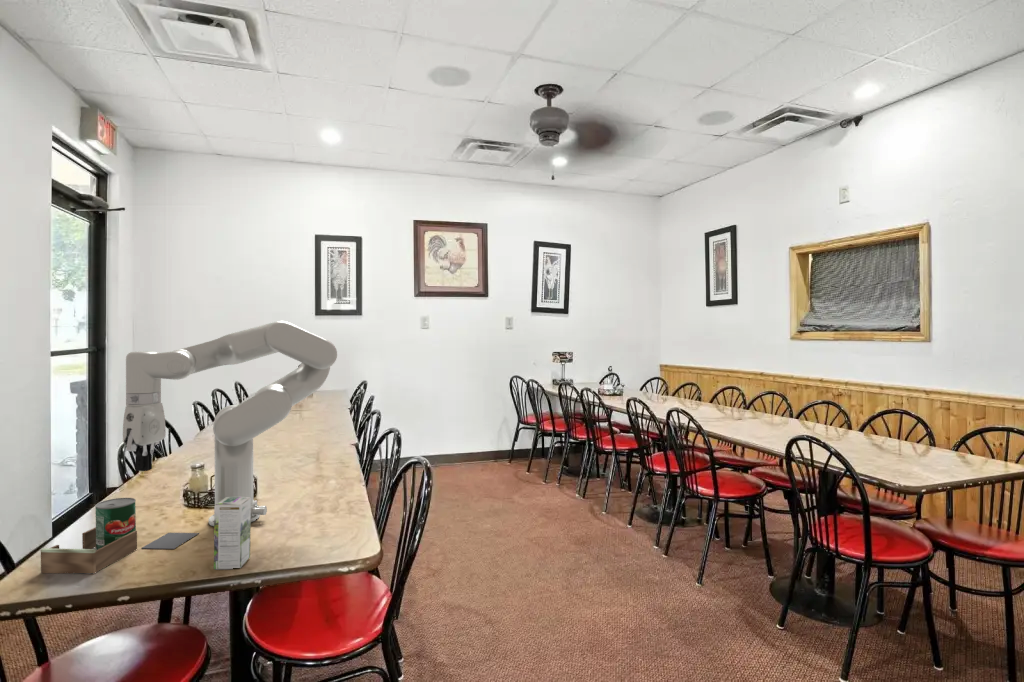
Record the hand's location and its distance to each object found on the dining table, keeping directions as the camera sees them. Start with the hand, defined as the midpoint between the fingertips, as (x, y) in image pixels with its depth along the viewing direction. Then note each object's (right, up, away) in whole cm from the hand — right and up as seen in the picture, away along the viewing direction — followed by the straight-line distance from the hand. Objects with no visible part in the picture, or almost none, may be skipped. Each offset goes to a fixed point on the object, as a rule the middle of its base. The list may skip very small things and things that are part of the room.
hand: (143, 470), depth 142 cm
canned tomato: (0, -17, -10) cm, 19 cm away
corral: (0, -17, -13) cm, 21 cm away
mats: (+3, -16, -9) cm, 19 cm away
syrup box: (+33, -17, -19) cm, 41 cm away
